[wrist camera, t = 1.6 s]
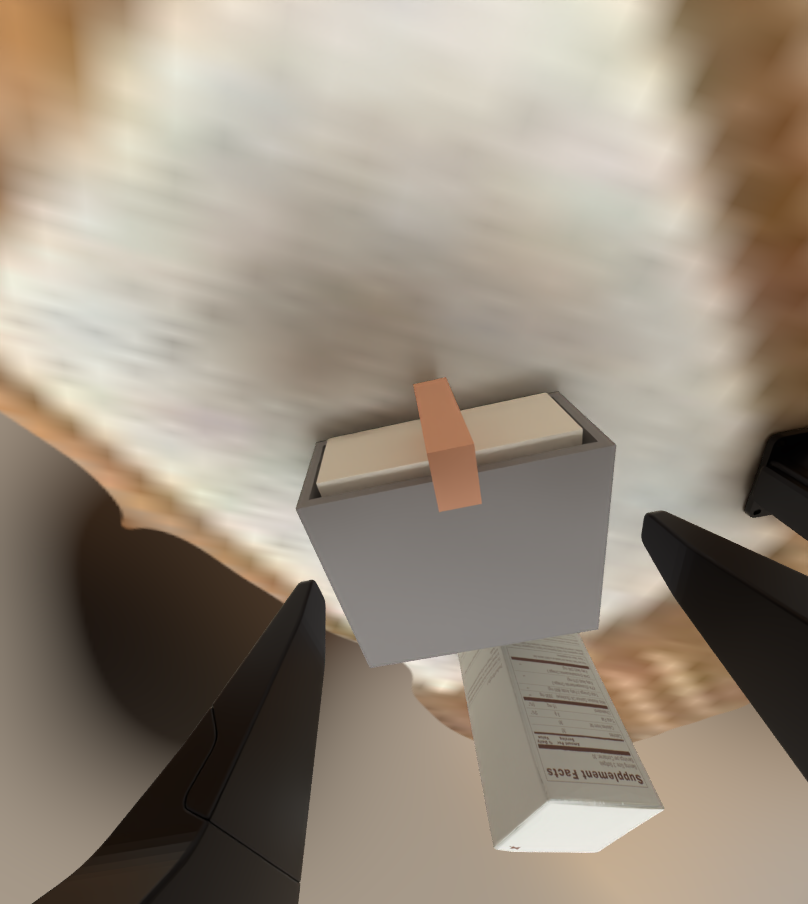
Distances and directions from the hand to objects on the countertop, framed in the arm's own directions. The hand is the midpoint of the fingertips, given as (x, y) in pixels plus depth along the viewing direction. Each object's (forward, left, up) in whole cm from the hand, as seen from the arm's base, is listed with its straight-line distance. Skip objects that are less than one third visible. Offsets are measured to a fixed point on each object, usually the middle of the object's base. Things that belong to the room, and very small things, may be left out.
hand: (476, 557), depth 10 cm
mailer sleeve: (0, +8, -12) cm, 15 cm away
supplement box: (-3, +23, -12) cm, 26 cm away
